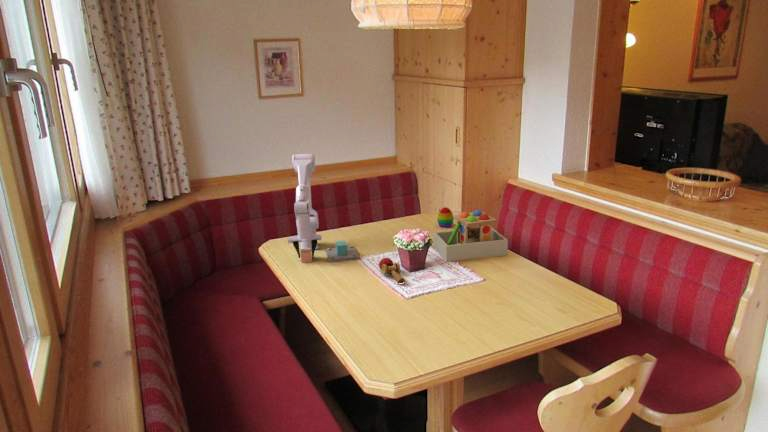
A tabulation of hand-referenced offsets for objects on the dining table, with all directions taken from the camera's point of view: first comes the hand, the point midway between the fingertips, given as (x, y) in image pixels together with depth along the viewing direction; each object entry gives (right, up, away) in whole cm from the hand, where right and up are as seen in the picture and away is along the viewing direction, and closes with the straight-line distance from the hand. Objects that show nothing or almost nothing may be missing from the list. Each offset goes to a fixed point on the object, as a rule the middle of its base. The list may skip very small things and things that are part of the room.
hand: (306, 256), depth 242 cm
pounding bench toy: (+71, +2, +4) cm, 71 cm away
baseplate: (+15, 0, +4) cm, 16 cm away
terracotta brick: (0, -1, 0) cm, 2 cm away
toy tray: (+73, +2, +5) cm, 73 cm away
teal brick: (+15, +2, +4) cm, 16 cm away
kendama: (+38, -7, -20) cm, 44 cm away
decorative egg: (+66, +13, +39) cm, 78 cm away
